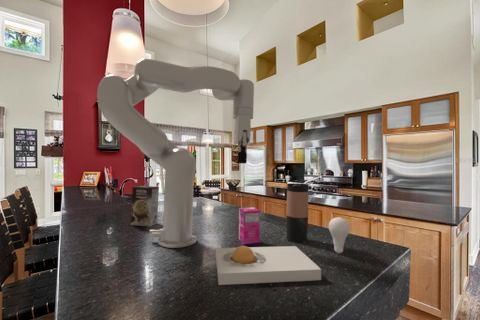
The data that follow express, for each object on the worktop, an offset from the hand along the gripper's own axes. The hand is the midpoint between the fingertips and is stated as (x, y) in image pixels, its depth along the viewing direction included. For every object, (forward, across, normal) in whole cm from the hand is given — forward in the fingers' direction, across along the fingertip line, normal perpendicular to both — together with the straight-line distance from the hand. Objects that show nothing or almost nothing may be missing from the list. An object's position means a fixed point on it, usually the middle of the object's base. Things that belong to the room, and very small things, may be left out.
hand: (241, 163), depth 89 cm
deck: (+27, +27, +2) cm, 38 cm away
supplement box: (+27, +7, +2) cm, 28 cm away
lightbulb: (+27, +19, +28) cm, 43 cm away
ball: (+24, +27, -3) cm, 36 cm away
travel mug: (+27, +5, +20) cm, 34 cm away
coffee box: (+27, -20, -38) cm, 51 cm away
